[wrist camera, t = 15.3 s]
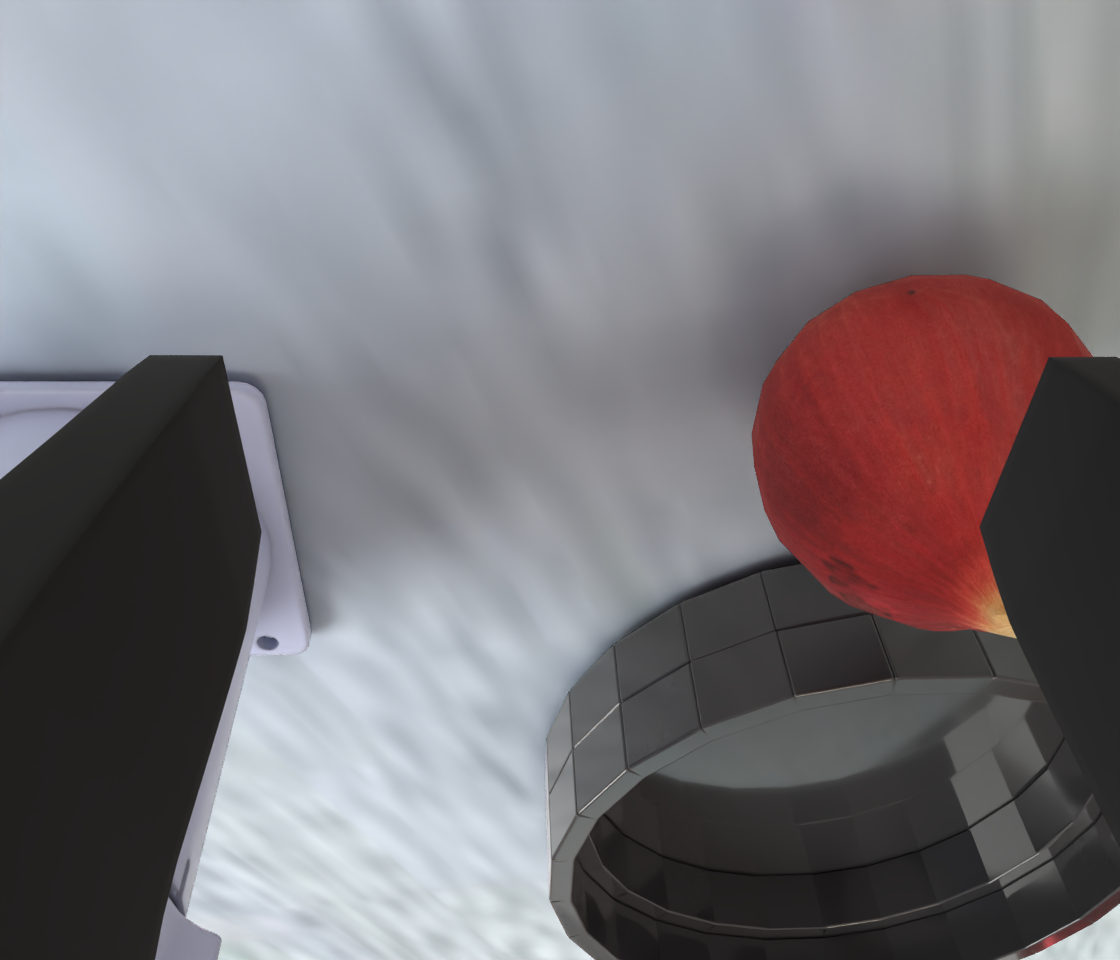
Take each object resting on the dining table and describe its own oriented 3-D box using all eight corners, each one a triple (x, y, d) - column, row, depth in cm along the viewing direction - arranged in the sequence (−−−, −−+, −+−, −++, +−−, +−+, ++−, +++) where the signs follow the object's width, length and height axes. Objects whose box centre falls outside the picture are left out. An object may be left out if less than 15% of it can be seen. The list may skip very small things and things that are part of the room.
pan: (540, 889, 34) (543, 1013, 31) (551, 547, 24) (559, 683, 21) (1006, 877, 35) (1053, 997, 32) (1217, 541, 25) (1317, 671, 22)
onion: (965, 444, 22) (1139, 755, 16) (706, 447, 22) (784, 764, 16) (1055, 195, 18) (1326, 479, 12) (743, 194, 18) (863, 484, 12)
